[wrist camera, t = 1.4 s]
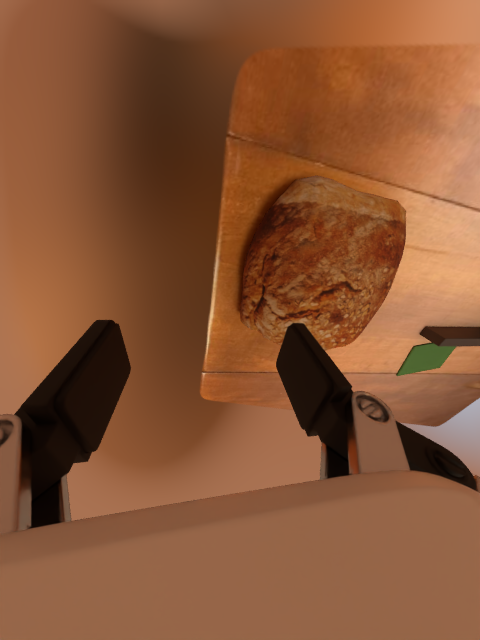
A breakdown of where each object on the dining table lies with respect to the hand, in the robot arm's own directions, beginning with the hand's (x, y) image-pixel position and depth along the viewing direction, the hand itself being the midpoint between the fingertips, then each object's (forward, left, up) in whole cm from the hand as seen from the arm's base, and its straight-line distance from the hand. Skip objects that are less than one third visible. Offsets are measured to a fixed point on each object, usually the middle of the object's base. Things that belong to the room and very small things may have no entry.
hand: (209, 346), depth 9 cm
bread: (0, +15, -18) cm, 24 cm away
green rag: (+20, +53, -18) cm, 59 cm away
